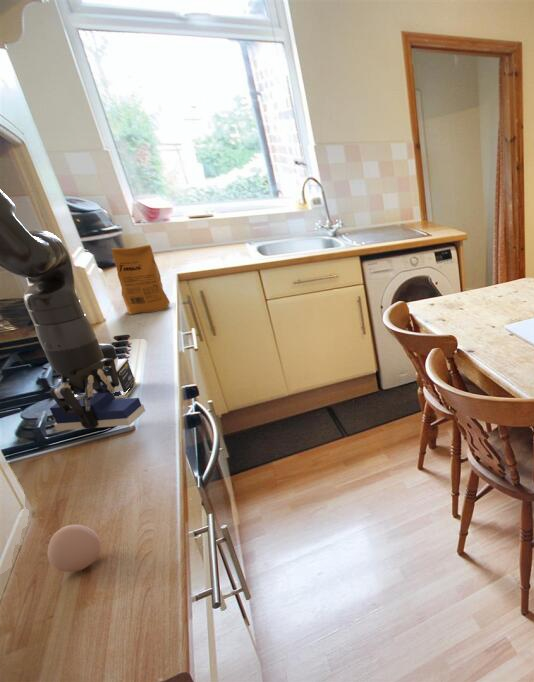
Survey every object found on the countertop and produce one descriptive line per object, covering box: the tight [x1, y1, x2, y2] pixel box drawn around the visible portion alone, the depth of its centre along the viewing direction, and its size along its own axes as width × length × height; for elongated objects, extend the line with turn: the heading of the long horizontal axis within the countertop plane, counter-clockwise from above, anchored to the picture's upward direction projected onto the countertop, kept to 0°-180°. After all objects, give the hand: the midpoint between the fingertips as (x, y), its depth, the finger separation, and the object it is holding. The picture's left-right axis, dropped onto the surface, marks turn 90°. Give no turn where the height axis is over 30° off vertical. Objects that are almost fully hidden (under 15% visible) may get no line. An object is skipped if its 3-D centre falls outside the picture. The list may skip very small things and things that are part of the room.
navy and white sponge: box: [49, 392, 146, 432], centre depth 92 cm, size 13×5×5 cm, turn 98°
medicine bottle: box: [93, 343, 137, 399], centre depth 106 cm, size 7×7×12 cm
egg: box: [46, 524, 102, 573], centre depth 63 cm, size 5×5×7 cm
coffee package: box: [111, 244, 171, 315], centre depth 159 cm, size 10×12×22 cm
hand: (102, 418), depth 93 cm, fingers closed on navy and white sponge, 5 cm apart
